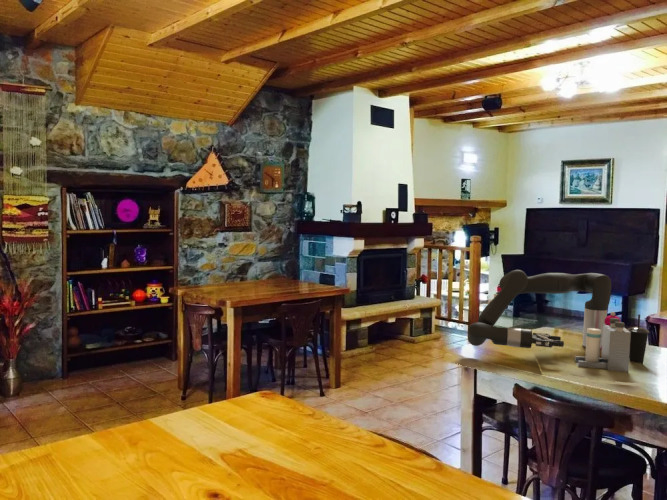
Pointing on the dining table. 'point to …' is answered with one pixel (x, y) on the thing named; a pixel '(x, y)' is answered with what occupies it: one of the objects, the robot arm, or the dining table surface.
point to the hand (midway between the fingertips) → (562, 341)
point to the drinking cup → (638, 343)
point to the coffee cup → (593, 344)
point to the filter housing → (611, 351)
